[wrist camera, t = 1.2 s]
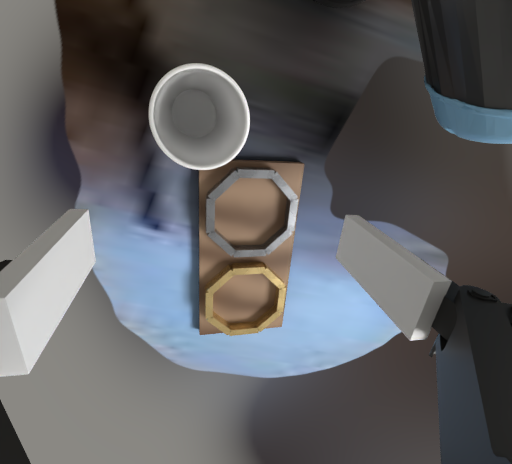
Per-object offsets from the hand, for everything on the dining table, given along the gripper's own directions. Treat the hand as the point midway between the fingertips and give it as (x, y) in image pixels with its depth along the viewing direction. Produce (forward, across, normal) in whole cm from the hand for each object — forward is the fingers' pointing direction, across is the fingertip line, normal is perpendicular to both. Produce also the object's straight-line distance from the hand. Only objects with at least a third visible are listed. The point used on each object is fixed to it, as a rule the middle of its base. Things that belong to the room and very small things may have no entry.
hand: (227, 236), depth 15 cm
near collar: (+21, +6, -6) cm, 22 cm away
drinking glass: (+22, -2, +5) cm, 23 cm away
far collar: (+21, +6, -20) cm, 29 cm away
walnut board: (+22, +6, -13) cm, 26 cm away
